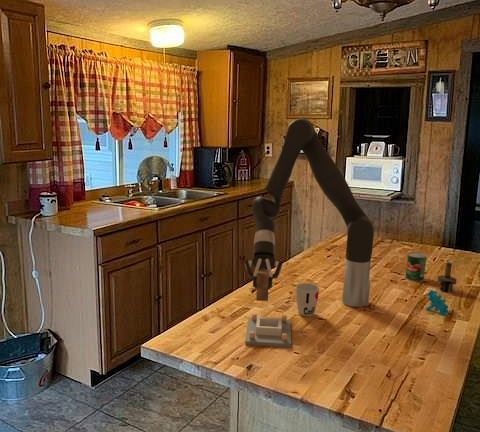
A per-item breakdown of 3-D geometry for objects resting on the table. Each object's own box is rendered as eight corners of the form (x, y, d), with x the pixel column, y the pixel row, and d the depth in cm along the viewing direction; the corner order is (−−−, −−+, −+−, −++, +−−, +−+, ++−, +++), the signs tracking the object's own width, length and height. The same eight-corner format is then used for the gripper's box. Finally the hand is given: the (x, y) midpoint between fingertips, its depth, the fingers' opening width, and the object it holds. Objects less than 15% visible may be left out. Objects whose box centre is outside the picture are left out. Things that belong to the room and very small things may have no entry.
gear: (441, 315, 175) (426, 290, 180) (428, 322, 179) (413, 298, 183) (455, 312, 183) (440, 288, 187) (442, 319, 186) (428, 295, 191)
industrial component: (455, 295, 201) (458, 266, 198) (435, 292, 203) (439, 263, 201) (455, 287, 209) (458, 260, 207) (436, 285, 212) (439, 257, 209)
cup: (303, 319, 172) (304, 292, 170) (290, 311, 179) (291, 284, 177) (322, 315, 176) (323, 289, 174) (308, 307, 183) (310, 281, 181)
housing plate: (289, 323, 169) (290, 312, 168) (291, 347, 151) (291, 336, 151) (248, 320, 170) (248, 310, 169) (245, 344, 152) (245, 333, 152)
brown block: (268, 296, 176) (268, 269, 174) (267, 300, 172) (268, 273, 170) (256, 296, 177) (257, 269, 174) (256, 300, 173) (256, 273, 171)
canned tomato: (404, 280, 217) (406, 255, 215) (405, 274, 224) (408, 251, 222) (423, 282, 214) (426, 258, 212) (424, 277, 221) (427, 253, 219)
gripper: (244, 239, 178) (241, 282, 169) (284, 240, 177) (283, 284, 168) (245, 249, 185) (242, 292, 175) (283, 250, 183) (282, 293, 174)
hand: (262, 288), depth 172 cm, fingers closed on brown block, 4 cm apart
